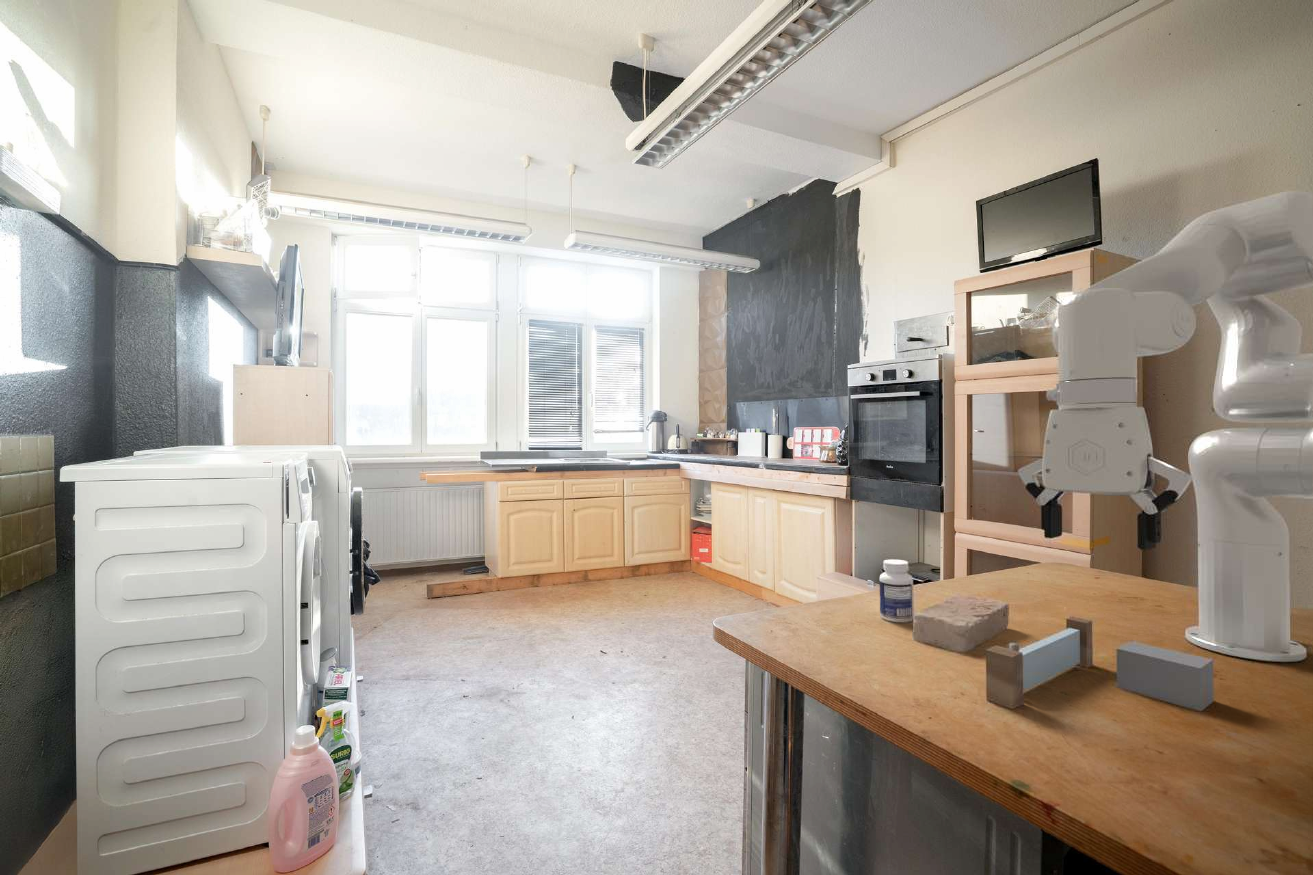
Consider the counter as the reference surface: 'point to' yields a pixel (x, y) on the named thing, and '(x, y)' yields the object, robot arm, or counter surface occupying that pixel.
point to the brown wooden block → (1004, 676)
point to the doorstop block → (1166, 675)
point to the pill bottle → (896, 592)
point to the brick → (961, 622)
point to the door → (1049, 656)
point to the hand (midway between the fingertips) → (1097, 542)
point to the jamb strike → (1083, 639)
